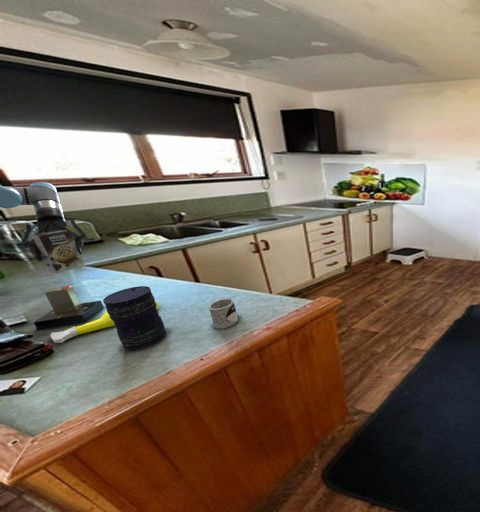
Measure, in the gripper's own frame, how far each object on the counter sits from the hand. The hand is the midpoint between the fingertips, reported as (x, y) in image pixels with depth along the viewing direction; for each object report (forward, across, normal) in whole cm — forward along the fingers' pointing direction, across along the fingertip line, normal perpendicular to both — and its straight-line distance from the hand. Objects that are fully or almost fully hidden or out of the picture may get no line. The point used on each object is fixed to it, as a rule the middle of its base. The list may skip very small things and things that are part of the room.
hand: (60, 255), depth 111 cm
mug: (+65, -40, +46) cm, 89 cm away
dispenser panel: (+37, -2, +17) cm, 40 cm away
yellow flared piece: (+46, -12, +26) cm, 54 cm away
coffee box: (+3, 0, -7) cm, 7 cm away
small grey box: (+34, -2, +19) cm, 39 cm away
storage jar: (+61, -19, +41) cm, 76 cm away
